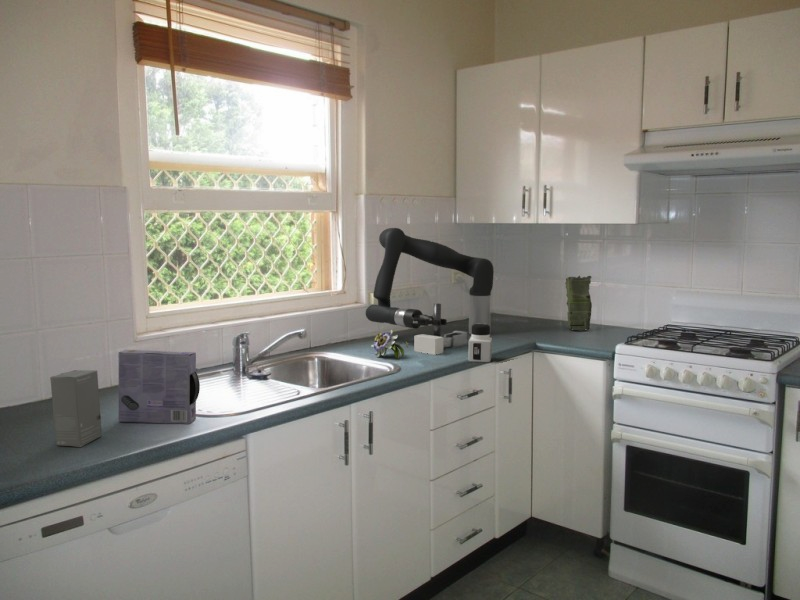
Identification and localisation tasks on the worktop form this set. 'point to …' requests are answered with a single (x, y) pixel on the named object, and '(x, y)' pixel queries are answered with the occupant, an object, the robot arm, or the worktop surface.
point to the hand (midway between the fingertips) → (443, 322)
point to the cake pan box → (157, 386)
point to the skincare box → (76, 407)
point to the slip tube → (437, 329)
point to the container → (480, 343)
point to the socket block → (428, 344)
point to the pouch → (578, 302)
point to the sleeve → (458, 338)
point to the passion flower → (387, 344)
